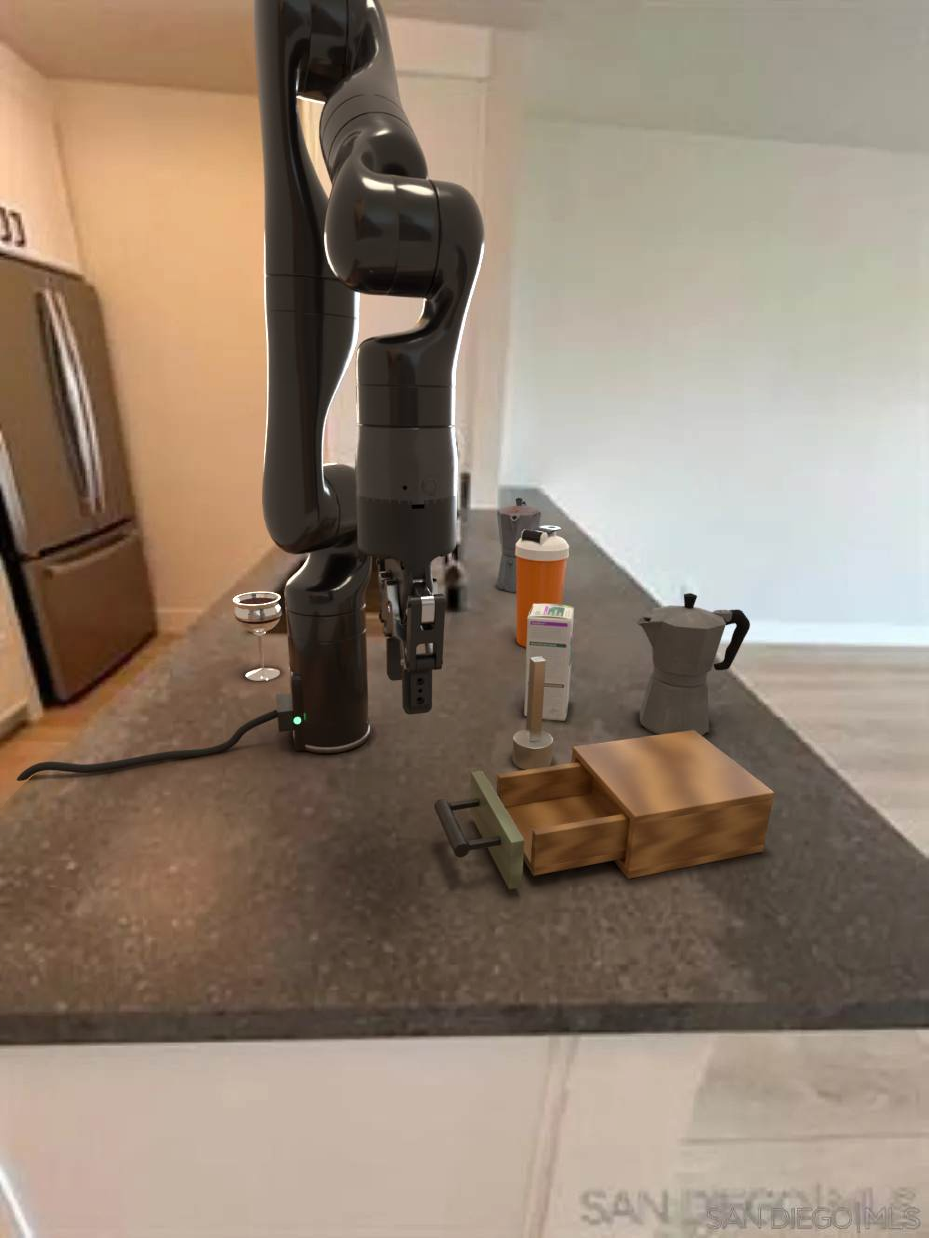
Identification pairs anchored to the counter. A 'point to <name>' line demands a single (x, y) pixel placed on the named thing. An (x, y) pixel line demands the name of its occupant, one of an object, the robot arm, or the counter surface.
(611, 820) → the drawer
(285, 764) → the counter surface
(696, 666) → the coffeepot
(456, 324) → the robot arm
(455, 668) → the counter surface
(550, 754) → the post on round base
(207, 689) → the counter surface
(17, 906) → the counter surface
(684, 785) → the cabinet
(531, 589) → the shaker bottle
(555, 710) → the syrup box
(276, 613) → the wineglass
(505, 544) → the moka pot
